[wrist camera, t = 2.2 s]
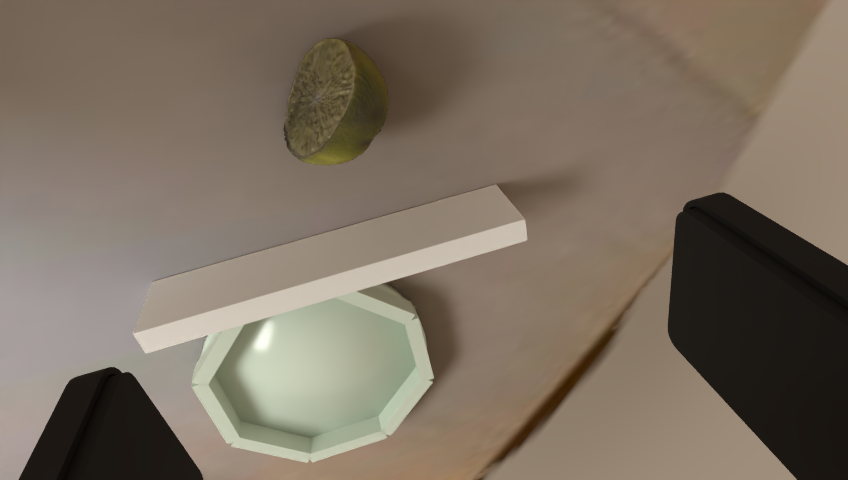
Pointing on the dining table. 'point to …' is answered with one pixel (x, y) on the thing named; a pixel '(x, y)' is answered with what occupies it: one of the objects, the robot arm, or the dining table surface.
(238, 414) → the dish
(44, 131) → the dining table surface
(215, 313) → the fence
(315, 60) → the lime
